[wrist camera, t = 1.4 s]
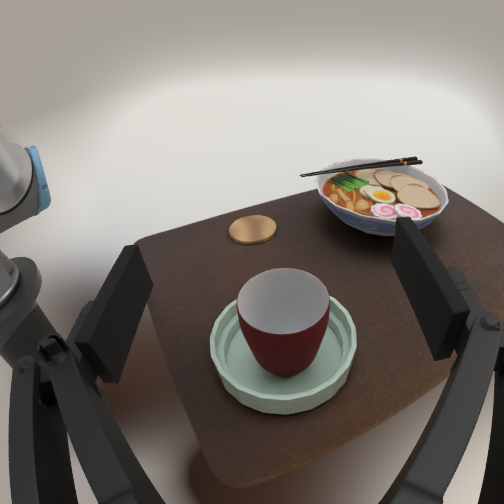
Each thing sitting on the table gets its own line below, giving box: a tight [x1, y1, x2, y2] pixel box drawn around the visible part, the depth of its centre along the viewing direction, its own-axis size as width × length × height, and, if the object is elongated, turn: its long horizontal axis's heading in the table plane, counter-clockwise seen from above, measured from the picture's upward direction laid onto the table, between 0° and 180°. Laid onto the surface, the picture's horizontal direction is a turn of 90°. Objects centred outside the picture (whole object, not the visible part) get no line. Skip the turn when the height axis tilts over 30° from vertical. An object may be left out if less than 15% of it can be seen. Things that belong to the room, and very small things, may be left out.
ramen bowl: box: [300, 157, 449, 236], centre depth 51 cm, size 25×23×8 cm
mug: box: [236, 268, 330, 377], centre depth 31 cm, size 10×8×10 cm
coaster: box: [229, 215, 276, 244], centre depth 55 cm, size 8×8×1 cm
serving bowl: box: [210, 296, 357, 415], centre depth 34 cm, size 15×15×4 cm
